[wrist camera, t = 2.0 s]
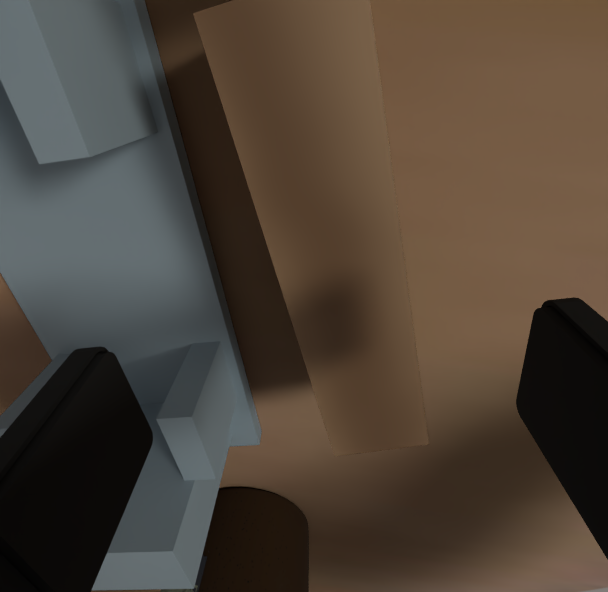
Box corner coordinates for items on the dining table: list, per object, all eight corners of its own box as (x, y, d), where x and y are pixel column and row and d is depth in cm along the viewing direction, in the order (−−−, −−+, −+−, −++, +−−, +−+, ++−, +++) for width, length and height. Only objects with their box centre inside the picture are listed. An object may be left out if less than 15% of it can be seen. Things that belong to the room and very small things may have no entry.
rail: (347, 1, 13) (363, -44, 8) (402, 353, 21) (429, 444, 16) (240, 34, 14) (192, 13, 9) (331, 364, 22) (334, 456, 17)
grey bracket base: (101, -159, 12) (-350, -631, 4) (261, 431, 24) (233, 599, 17) (-185, -94, 13) (-1004, -362, 5) (113, 440, 25) (22, 602, 18)
